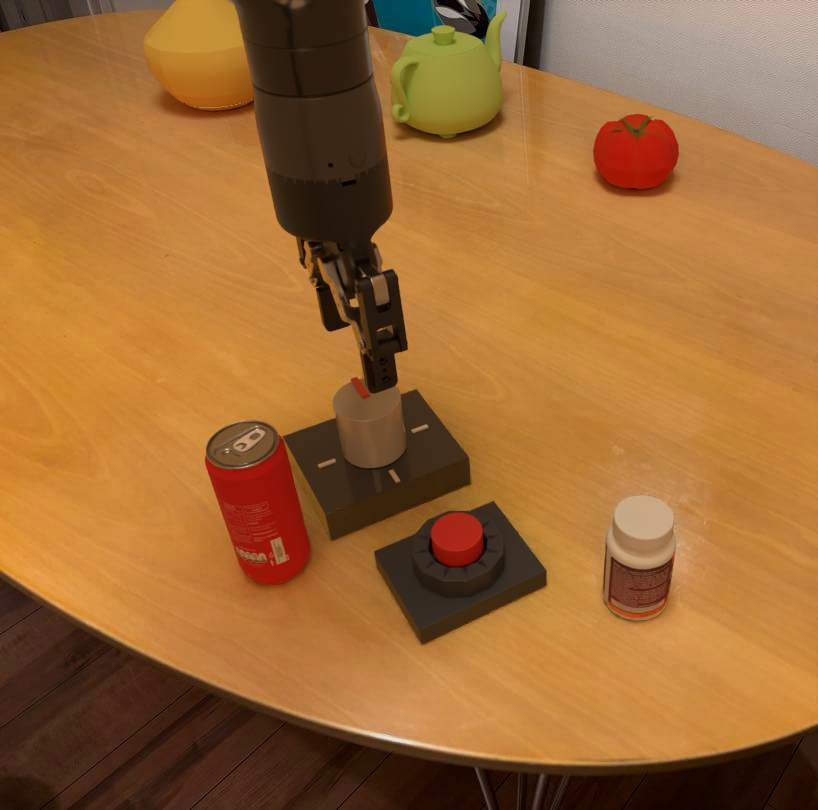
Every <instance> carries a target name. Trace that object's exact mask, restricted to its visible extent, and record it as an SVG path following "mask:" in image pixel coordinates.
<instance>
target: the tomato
mask: <svg viewBox="0 0 818 810" xmlns="http://www.w3.org/2000/svg"><path fill="white" fill-rule="evenodd" d="M652 118H654V115H653V116H649V115H646V114H641V113H634V114H633V113H632V114H628V115H625V116H624V117H621V118H620V117H619V119H618V120H611V121H607V122H605V124H603V125H602V126H601V127H600V128H599V130H598V133H597V135H596V136H595V140H594V143H593V150H592V155H593V162H594V165H595V168H596V171H597V172H599V173H600V174H601V175H602V177H603V179H604V180H605V181H606V182H608V183H609V184H611V186H614V187H618V188H621V189H638V190H646V189H651V188H655V187H657V186H659V185H661V184H663V183H664V182H666V180H667V179H668V177H669V176H670V174H671V173H672V172H673V170H674V169H675V167H676V166H677V164H678V160H679V157H680V150H679V147H680V145H679V143H678V141H677V137H676V136H675V132H674V130H673V129H672V128H671V127H670V125H668V123H667V122H665V121H664V120H663V119H658V118H654V119H652Z"/></svg>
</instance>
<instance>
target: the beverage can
mask: <svg viewBox="0 0 818 810" xmlns="http://www.w3.org/2000/svg"><path fill="white" fill-rule="evenodd" d="M204 465H205V468H206V470H207V471H206V472H207V474H208V477H209V480H210V483H211V485H212V489H213V491H214V494H215V497H216V501H217V504H218V506H219V509H220V512H221V515H222V518H223V521H224V524H225V527H226V529H227V532H228V536H229V538H230V540H231V541H230V542H231V545H232V547H233V550H234V553H235V556H236V559H237V562H238V565H239V567H240V568H241V570H242V571H243V572H244V573H245V575H248V576H249V577H250V578H251V579H252V580H253V581H255V582H256V583H259V584H261V585H265V586H266V585H267V586H273V585H281V584H285V583H286V582H287V583H288V582H289V581H291V580H293V579H294V578H296V577H297V576H298V575H299V574H301V573H302V571H303V570H304V569H305V567H306V565H307V562H308V557H309V555H310V552H311V541H310V537H309V534H308V529H307V525H306V522H305V521H306V520H305V518H304V514H303V513H304V512H303V509H302V505H301V501H300V498H299V494H298V490H297V486H296V482H295V478H294V474H293V469H292V467H291V465H290V462H289V458H288V454H287V450H286V446H285V443H284V440H283V436H281V435H280V434H279V432H278V430H277V429H276V428H275V427H274V426H273V425H271V424H270V423H268V422H267V421H266V422H265V421H263V420H258V419H257V420H255V419H247V420H238V421H235V422H232V423H230V424H228V425H227V424H226V425H225V426H223V427H222V428H220V429H218V430H217V431H216V432H215V433H214V434H213V435H212V436H211V437H210V438H208V441H207V443H206V445H205V456H204Z"/></svg>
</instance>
